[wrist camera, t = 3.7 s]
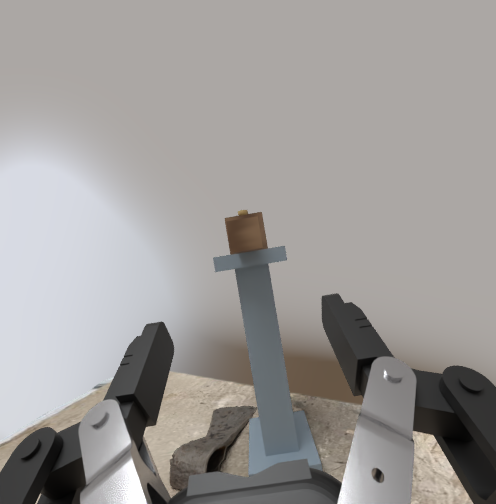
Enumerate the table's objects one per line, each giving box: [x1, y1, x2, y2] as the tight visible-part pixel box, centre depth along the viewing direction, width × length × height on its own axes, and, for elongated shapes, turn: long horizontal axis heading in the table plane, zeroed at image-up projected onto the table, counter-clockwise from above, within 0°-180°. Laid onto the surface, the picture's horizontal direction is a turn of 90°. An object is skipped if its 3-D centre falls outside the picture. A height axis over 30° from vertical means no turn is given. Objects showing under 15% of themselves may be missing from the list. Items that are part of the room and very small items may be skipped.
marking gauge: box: [225, 210, 268, 255], centre depth 33 cm, size 6×21×7 cm, turn 179°
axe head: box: [170, 406, 257, 490], centre depth 42 cm, size 20×5×10 cm
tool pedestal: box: [213, 246, 322, 477], centre depth 38 cm, size 10×11×32 cm
